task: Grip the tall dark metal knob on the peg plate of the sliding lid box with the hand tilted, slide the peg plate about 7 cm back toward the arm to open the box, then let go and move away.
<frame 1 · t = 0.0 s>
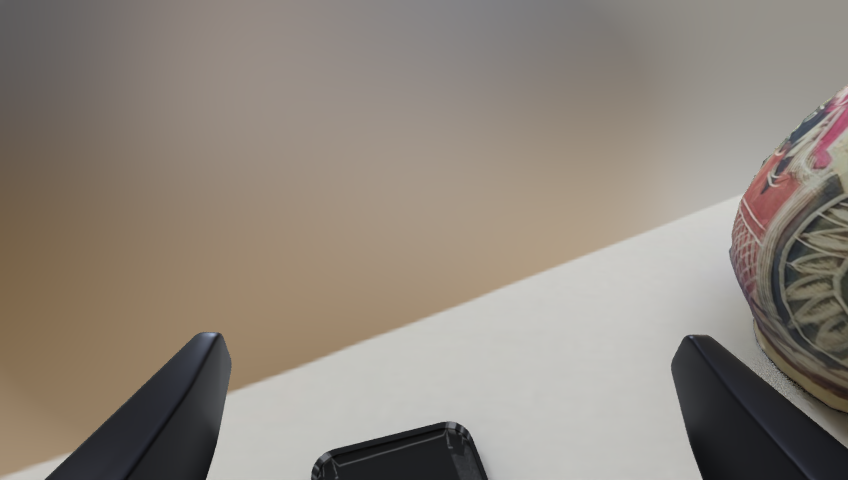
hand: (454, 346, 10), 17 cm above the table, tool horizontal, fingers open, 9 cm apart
ceramic jug: (824, 360, 31), on the table
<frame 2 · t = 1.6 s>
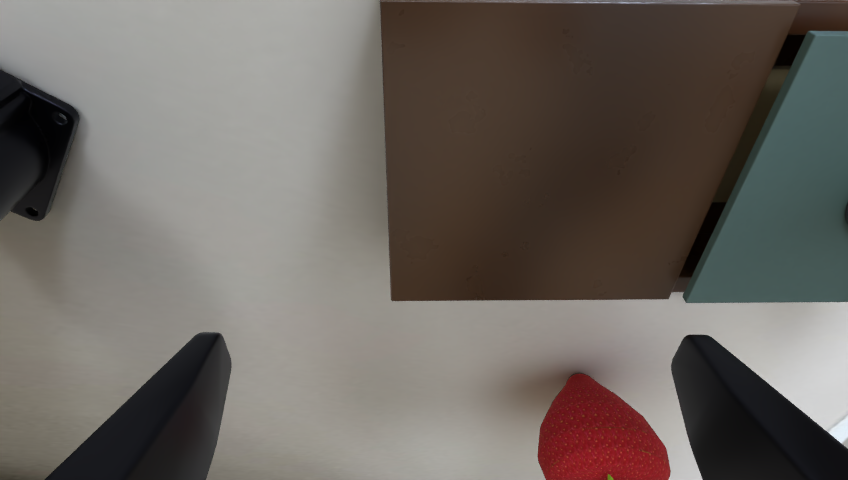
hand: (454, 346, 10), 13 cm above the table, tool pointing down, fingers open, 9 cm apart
strawberry: (577, 374, 33), on the table
sliding lid box: (674, 128, 22), on the table
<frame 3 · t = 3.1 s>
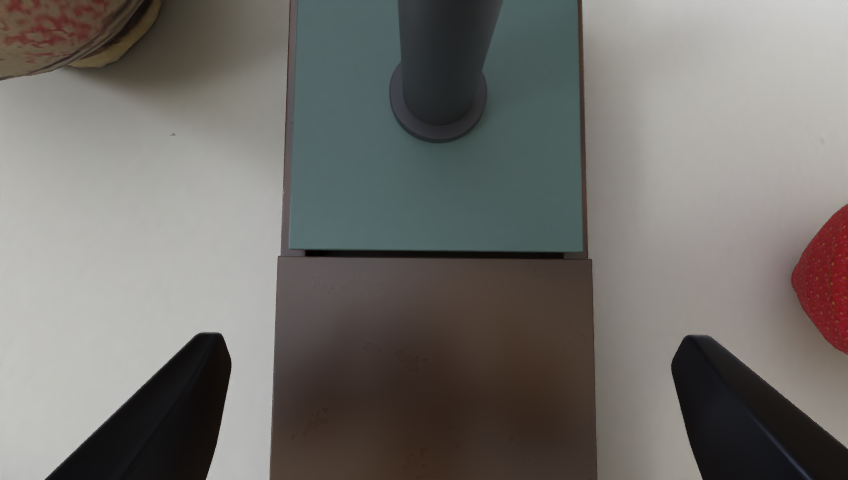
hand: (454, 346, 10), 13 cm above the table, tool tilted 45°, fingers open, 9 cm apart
peg plate: (444, 41, 15), point 9 cm above the table, slide at 0.0 cm
strawberry: (799, 278, 24), on the table
sliding lid box: (431, 263, 24), on the table
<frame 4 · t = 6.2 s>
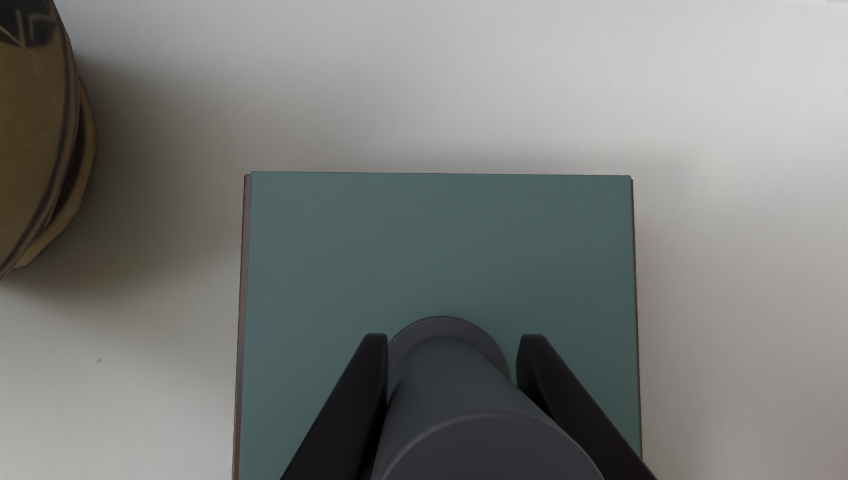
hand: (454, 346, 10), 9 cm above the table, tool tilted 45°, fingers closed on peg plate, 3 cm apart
peg plate: (454, 422, 10), point 9 cm above the table, slide at 0.0 cm, touching gripper
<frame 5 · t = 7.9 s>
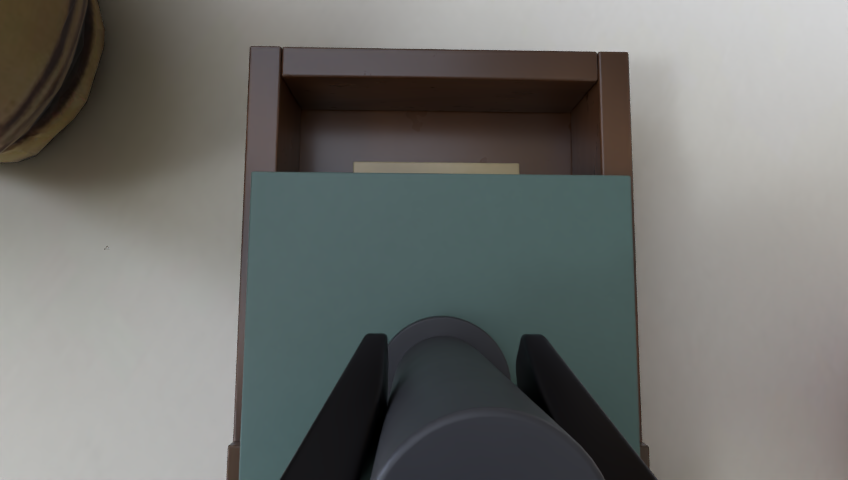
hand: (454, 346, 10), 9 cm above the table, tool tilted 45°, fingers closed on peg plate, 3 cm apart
peg plate: (454, 422, 10), point 9 cm above the table, slide at 4.1 cm, touching gripper
sliding lid box: (434, 411, 19), on the table
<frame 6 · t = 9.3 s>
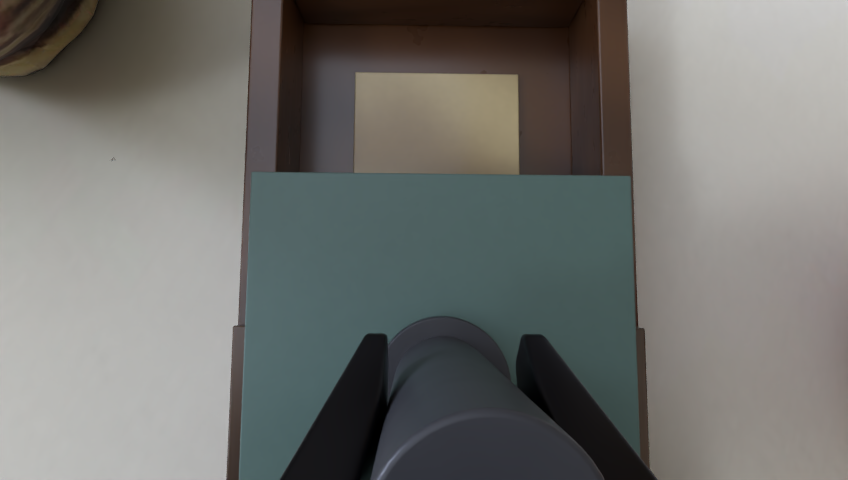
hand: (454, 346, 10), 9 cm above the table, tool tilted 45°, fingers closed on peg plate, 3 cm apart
peg plate: (454, 422, 10), point 9 cm above the table, slide at 7.4 cm, touching gripper
sliding lid box: (434, 319, 19), on the table
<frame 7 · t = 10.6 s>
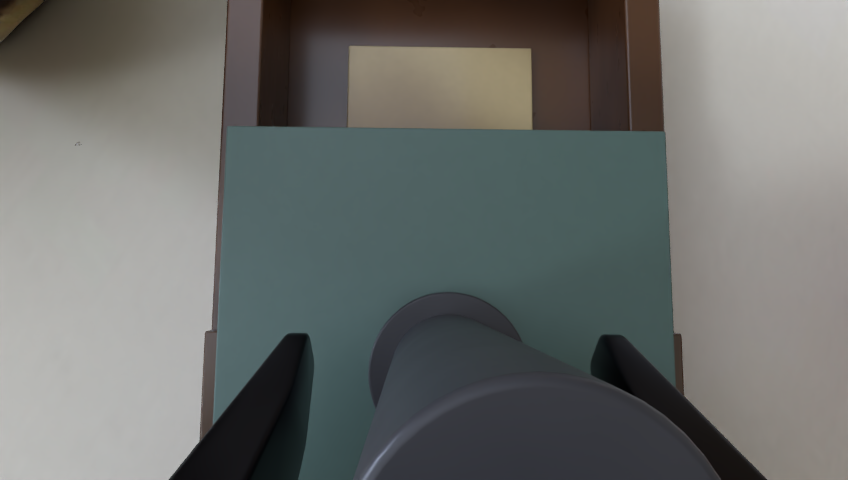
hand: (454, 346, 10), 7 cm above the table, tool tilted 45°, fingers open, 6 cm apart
peg plate: (465, 412, 8), point 9 cm above the table, slide at 6.8 cm
sliding lid box: (437, 322, 17), on the table
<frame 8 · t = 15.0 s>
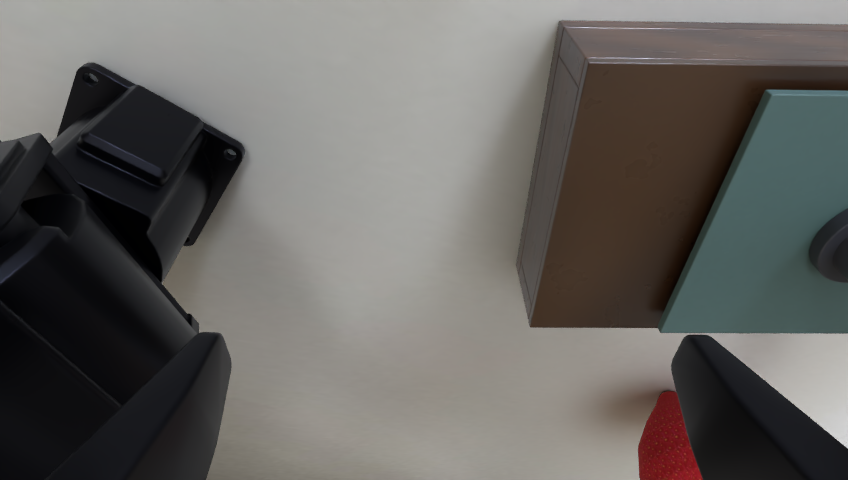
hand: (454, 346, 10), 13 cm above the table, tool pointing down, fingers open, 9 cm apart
strawberry: (666, 391, 34), on the table
sliding lid box: (803, 165, 23), on the table
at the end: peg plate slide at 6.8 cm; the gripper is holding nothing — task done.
